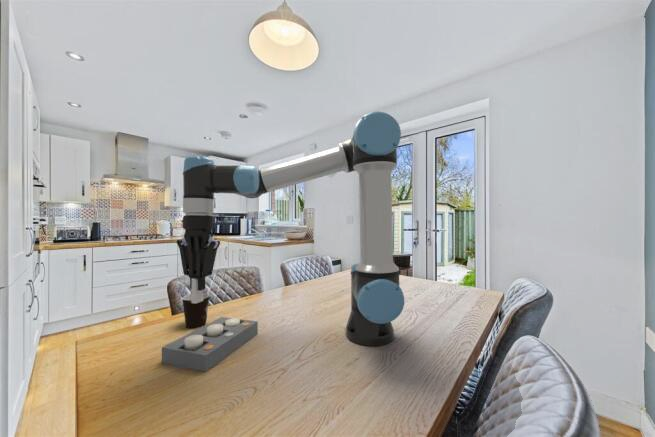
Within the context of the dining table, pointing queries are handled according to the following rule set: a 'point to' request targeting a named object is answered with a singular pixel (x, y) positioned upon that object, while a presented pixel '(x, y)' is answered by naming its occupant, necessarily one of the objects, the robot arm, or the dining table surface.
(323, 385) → the dining table surface
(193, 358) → the button board
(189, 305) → the coffee mug
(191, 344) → the button
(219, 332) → the button
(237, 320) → the button
